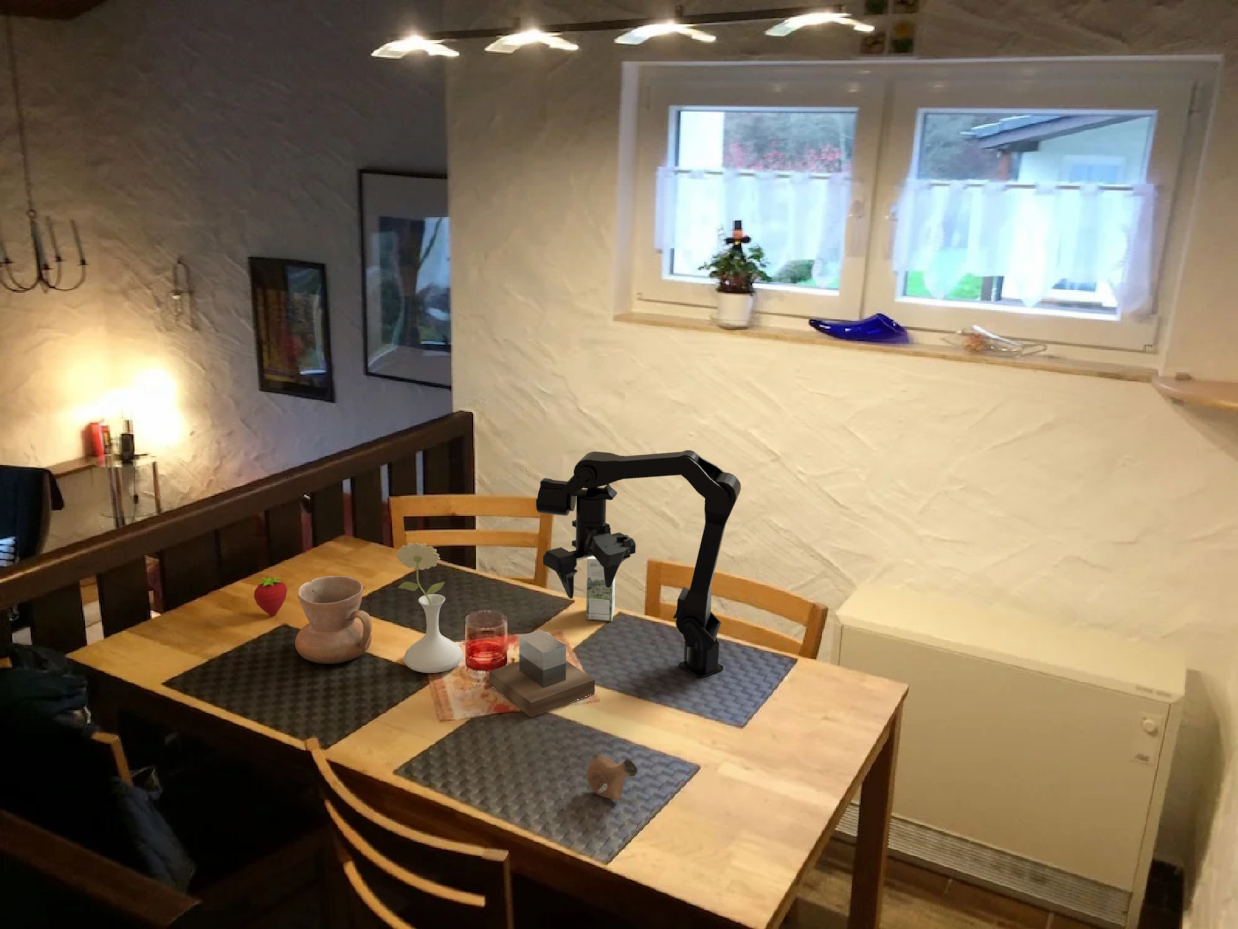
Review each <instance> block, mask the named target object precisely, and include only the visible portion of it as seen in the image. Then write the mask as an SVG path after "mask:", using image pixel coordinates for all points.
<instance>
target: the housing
mask: <svg viewBox="0 0 1238 929" xmlns="http://www.w3.org/2000/svg"><path fill="white" fill-rule="evenodd" d="M518 641H519V642H518V646H519V649H518V650H519V653H518V658H519V659H518V662H519V670H520V671H521V672H522V673H524V674H525V675H526V676H528V677H529V678H530V679H532V680H533V681H534V682H536V683H537V684H539V685H540V686H541V687H543V688H544V687H547V686H550V685H553V684H556V683H559V682H562V681H565V680H566V661H567V645H566V644H564V643H563V642H561V640H558V639H557V638H556V637H554V636H552V635H551V634H549V633H548V632H546V631H545V630H544V629H539V630H536V631H532V632H528V633H526V634H522V635H519V637H518Z"/></svg>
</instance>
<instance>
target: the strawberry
mask: <svg viewBox="0 0 1238 929" xmlns="http://www.w3.org/2000/svg"><path fill="white" fill-rule="evenodd" d="M281 578H282V576H281V577H279V576H278V577H268V578H266V577H261V579H262V582H260V583H257V587H256V588H255V590H254V594H253V598H254V600H255V603H256V604H257V606H258V607H259V608H260V609H261V610H262V611H264V612H265V613H266V614H268V615H269V616H270V617H275V616H277V614H278V613H279V610H280V609H281V608H282V606H283V604H284V602H285V600H286V597H287V593H288V588H287V585H286V583H285V582H284V581H281V580H279V579H281Z"/></svg>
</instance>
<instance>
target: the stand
mask: <svg viewBox="0 0 1238 929" xmlns="http://www.w3.org/2000/svg"><path fill="white" fill-rule="evenodd" d="M595 681H596V680H595V679H594V678H593V677H591V676H590V675H588V674H587V673H586V672H584V671H582V670H581V669H579V668H578V667H577V666H575V665H573V664H572V663H571V662H569V660H566V680H565V681H562V682H559V683H556V684H553V685H550V686H547V687H544V688H543V687H541V686H540V685H539V684H537V683H536V682H534V681H533V680H532V679H530V678H529V677H528V676H526V675H525V674H524V673H522V672H521V671H520V670H519V661H517V662H513V663H510V664H507V665H505V666H501V667H497V668H495V669H491V670H489V686H490V685H491V686H492V687H494V688H495V689H496V690H497V691H496V690H495V689H494V688H493V689H494V690H495V691H496V692H497V693H499V694H500V693H501V694H502V696H503V697H504V698H505V699H506V700H508V702H509V701H511V703H512V704H513V705H514V706H516V707H517V708H518V709H519V710H521V711H522V712H523V713H524V714H525V715H527V716H529V718H534V717H537V716H539V715H543V714H544V713H545V714H546V713H547V712H551V711H553V710H556V709H558V708H561V707H564V706H566V705H569V704H571V702H572V703H574V702H573V701H575V700H577V699H580V700H582V699H581V698H583V699H585V698H584V697H585V696H588V695H590V694H594V693H595V689H596V688H595V685H596V682H595ZM491 686H490V687H491ZM492 687H491V688H492ZM501 694H500V695H501ZM594 695H595V694H594ZM588 697H589V696H588ZM575 702H576V701H575Z"/></svg>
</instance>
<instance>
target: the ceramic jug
mask: <svg viewBox="0 0 1238 929" xmlns="http://www.w3.org/2000/svg"><path fill="white" fill-rule="evenodd" d="M363 591H364V586H363V584H362V582H360V580H358V579H356V578H354V577H351V576H345V575H342V576H341V575H328V576H321V577H317V578H314V579H311V581H310V582H309V581H307V582H305V583H302V585H300V587H298V590H297V597H296V598H297V599H298V601H299V604H300V607H301V609H302V610H303V613H304V615H305V616H306V619H307V621H308V623H307V624H305V625H304V626H303V627H302V628H301V629H300V630H299V631H298V632H297V635H296V636H295V641H294V646H295V649H296V651H297V653H298V654H299V655H300V656H301V657H302V658H303V659H305V660H307V661H309V662H312V663H316V664H324V665H326V664H327V665H332V664H333V665H334V664H340V663H341V664H342V663H345V662H349V661H352V660H354V659H356V658H359V657H360V656H361V655H363V654H364V653H365V652H366V651H367V650H368V649H369V648H370V645H371V644H372V636H373V635H372V631H373V622H372V618H371V617H370V615H369V613H367V612H366V611H365V610H360V607H361V604H362V599H363V594H364V592H363Z"/></svg>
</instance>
